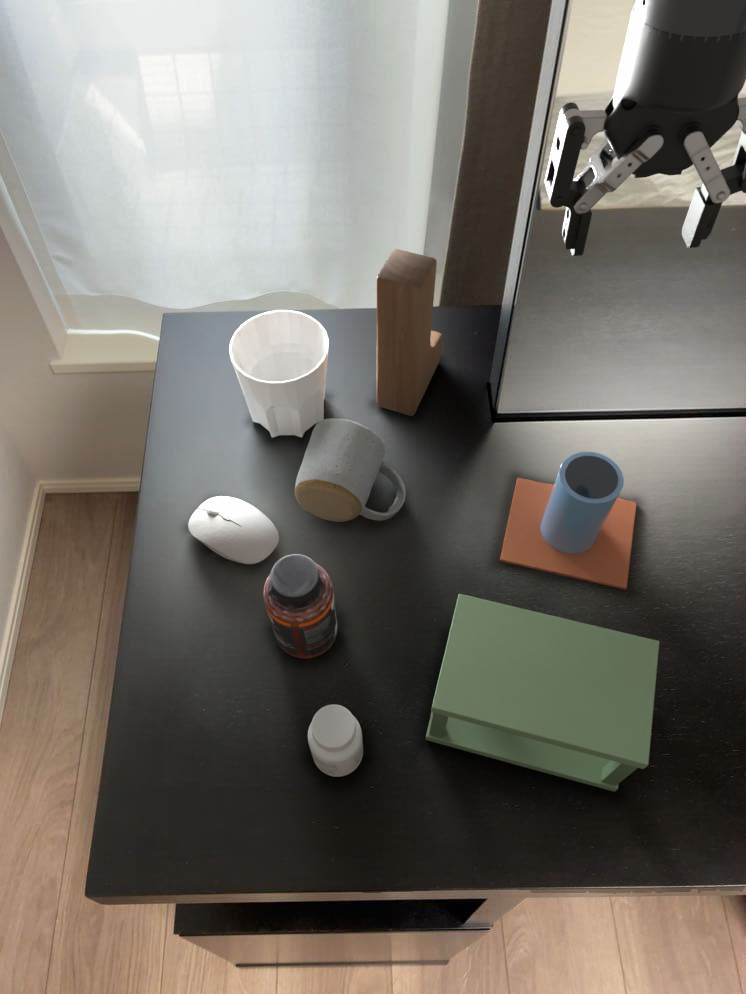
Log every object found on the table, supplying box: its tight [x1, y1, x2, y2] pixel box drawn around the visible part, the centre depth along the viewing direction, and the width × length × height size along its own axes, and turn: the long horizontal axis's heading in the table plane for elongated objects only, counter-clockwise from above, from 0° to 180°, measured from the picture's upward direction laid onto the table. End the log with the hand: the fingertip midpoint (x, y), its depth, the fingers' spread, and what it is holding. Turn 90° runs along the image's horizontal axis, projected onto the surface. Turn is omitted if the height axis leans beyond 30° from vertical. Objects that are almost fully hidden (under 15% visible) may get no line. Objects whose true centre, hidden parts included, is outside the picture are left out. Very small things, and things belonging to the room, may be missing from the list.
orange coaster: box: [499, 477, 637, 591], centre depth 75 cm, size 12×10×1 cm
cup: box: [228, 309, 330, 439], centre depth 80 cm, size 10×10×10 cm
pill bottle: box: [307, 704, 364, 778], centre depth 61 cm, size 4×4×8 cm
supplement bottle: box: [263, 553, 338, 659], centre depth 66 cm, size 6×6×11 cm
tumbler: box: [540, 451, 625, 554], centre depth 71 cm, size 6×6×9 cm
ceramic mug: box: [294, 417, 407, 523], centre depth 75 cm, size 11×8×8 cm
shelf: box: [425, 593, 660, 792], centre depth 62 cm, size 16×10×9 cm, turn 74°
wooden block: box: [376, 248, 443, 417], centre depth 78 cm, size 9×4×18 cm, turn 157°
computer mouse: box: [187, 495, 280, 565], centre depth 75 cm, size 6×10×3 cm, turn 55°
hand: (632, 245), depth 57 cm, fingers open, 8 cm apart
